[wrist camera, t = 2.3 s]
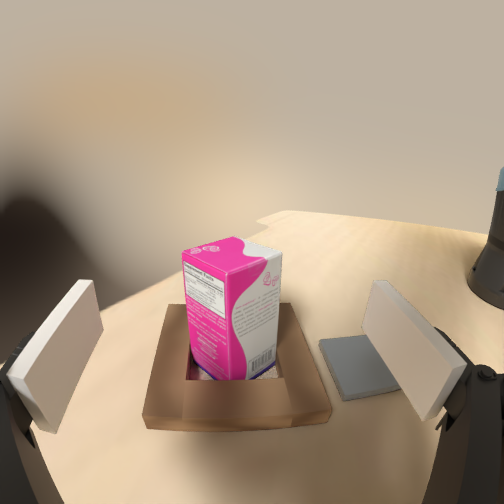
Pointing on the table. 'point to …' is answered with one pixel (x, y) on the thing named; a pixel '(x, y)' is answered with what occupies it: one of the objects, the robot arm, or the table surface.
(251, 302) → the supplement box
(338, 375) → the coaster
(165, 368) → the board
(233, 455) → the table surface
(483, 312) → the table surface
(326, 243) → the table surface
